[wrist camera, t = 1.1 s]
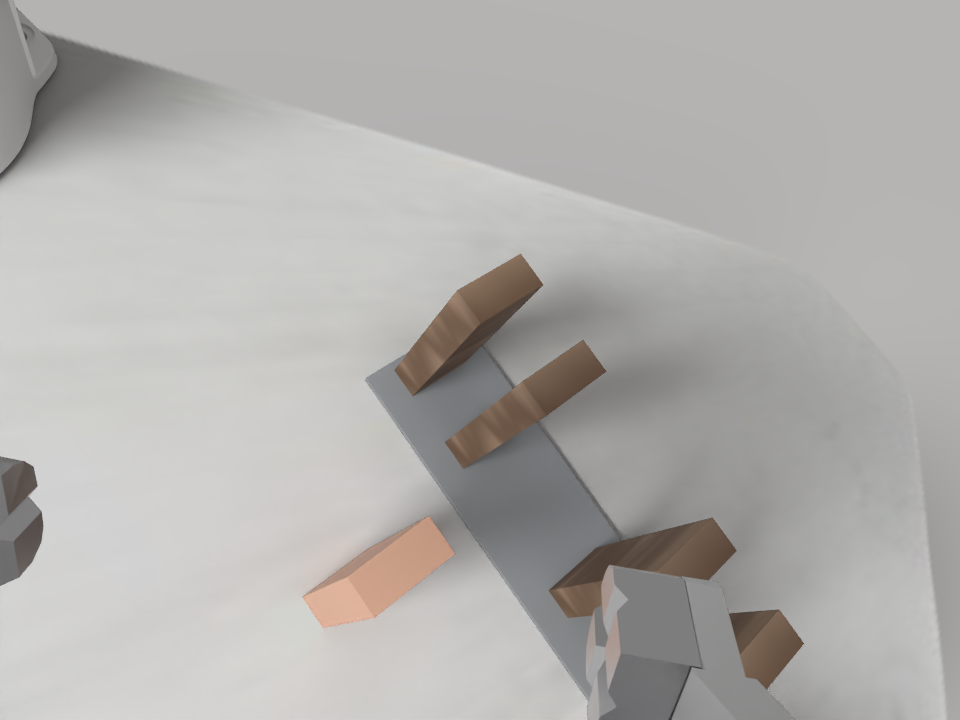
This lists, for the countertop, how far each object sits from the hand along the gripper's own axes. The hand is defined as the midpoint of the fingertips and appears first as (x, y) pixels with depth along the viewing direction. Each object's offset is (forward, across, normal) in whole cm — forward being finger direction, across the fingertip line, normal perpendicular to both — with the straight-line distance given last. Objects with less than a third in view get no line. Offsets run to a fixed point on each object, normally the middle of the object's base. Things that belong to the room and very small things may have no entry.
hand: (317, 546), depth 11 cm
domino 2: (+35, +2, +16) cm, 39 cm away
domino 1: (+24, +4, +25) cm, 34 cm away
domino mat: (+31, -6, +23) cm, 39 cm away
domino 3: (+33, -2, +19) cm, 38 cm away
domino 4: (+29, -10, +26) cm, 40 cm away
